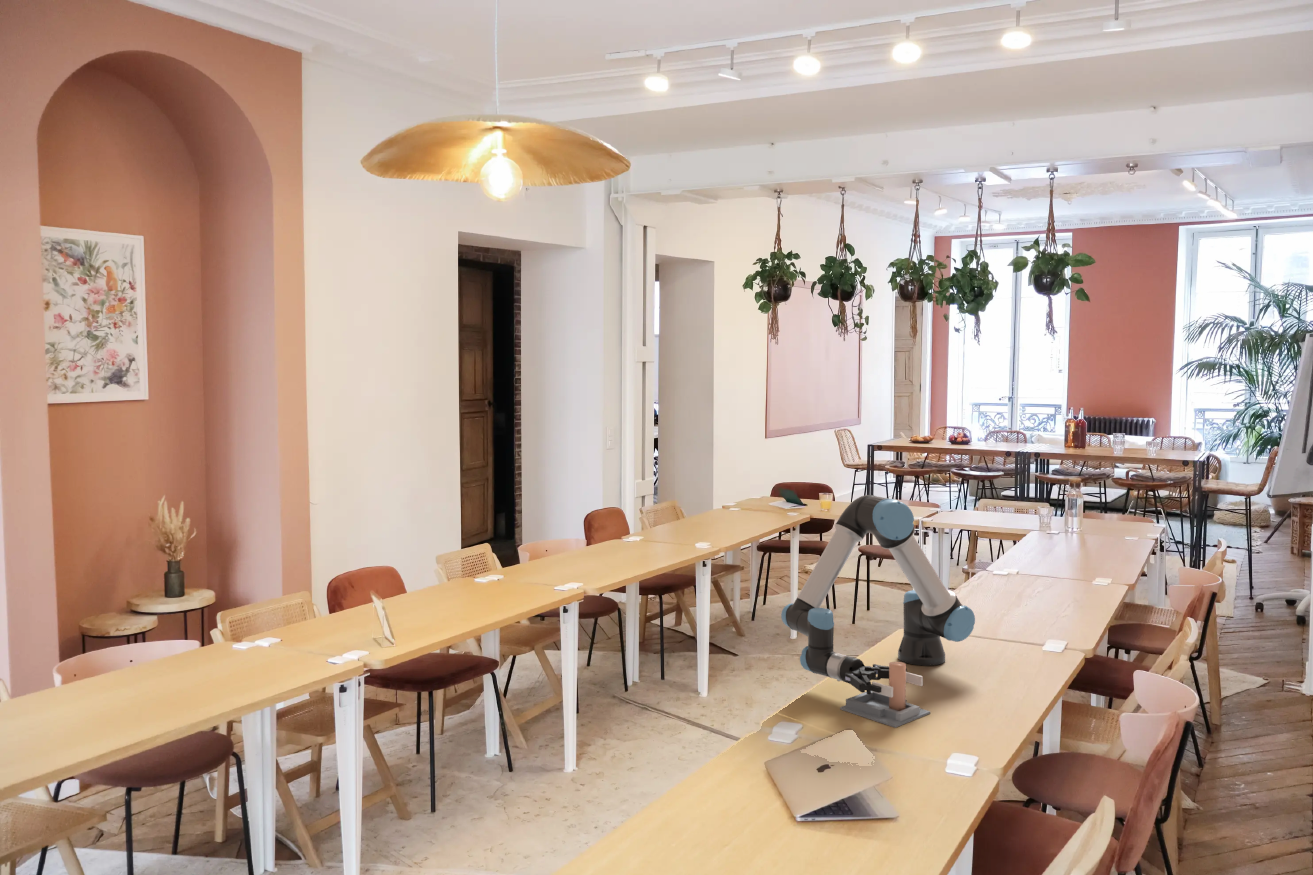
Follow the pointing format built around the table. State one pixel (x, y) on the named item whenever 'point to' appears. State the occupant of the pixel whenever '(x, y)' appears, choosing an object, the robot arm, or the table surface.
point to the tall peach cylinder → (897, 685)
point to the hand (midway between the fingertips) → (907, 686)
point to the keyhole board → (882, 709)
